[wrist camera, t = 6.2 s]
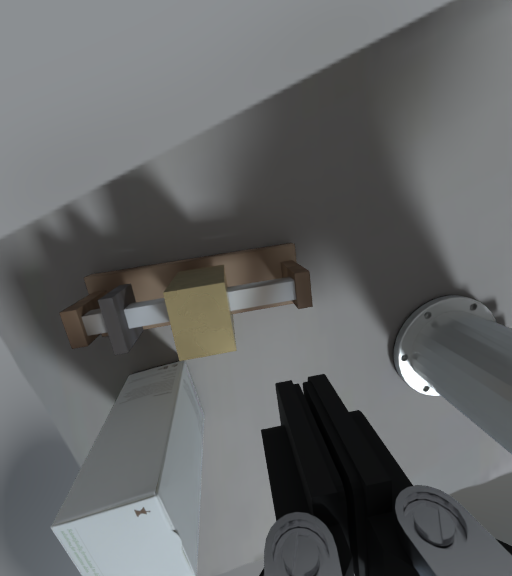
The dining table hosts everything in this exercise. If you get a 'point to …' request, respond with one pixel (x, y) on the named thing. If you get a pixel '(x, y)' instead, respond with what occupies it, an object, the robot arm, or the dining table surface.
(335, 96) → the dining table surface
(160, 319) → the rod stand
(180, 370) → the skincare box
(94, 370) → the dining table surface
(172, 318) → the yellow rectangular block
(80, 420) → the dining table surface
